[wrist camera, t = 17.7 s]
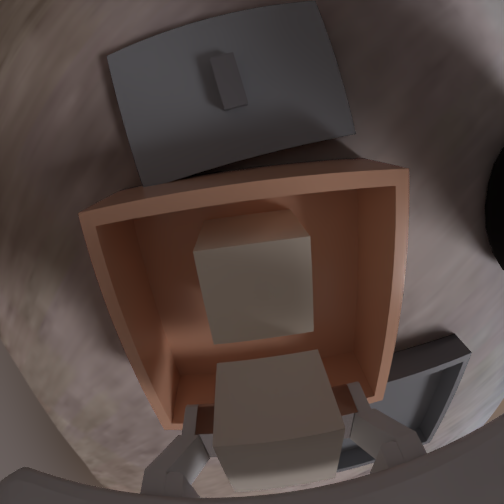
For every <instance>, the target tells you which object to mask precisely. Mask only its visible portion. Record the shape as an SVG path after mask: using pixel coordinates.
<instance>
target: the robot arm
mask: <svg viewBox="0 0 504 504" xmlns="http://www.w3.org/2000/svg"><path fill="white" fill-rule="evenodd" d="M331 388H332V391H333V394H334V396H335V399H336V402H337V405H338V408H339V411H340V414H341V417H342V420H343V423H344V426H345V433H344V438H343V439H347V438H350V439H351V440H352V441H353V442H355V443H356V444H357V445H358V446H360V447H361V448H362V449H363V450H364V451H366V452H367V453H368V454H370V455H371V456H372V457H373V458H375V459H376V460H375V462H374V465H373V467H372V469H371V471H370V474H369V475H365V476H362V477H358V478H355V479H351V480H347V481H343V482H339V483H334V484H330V485H325V486H321V487H315V488H310V489H305V490H299V491H292V492H285V493H278V494H269V495H259V496H247V497H228V498H200V496H199V495H198V494H197V492H196V491H195V490H194V488H193V487H192V486H191V484H192V483H193V481H194V480H195V479H196V477H197V476H198V474H199V473H200V472H201V470H202V469H203V467H204V466H205V465H206V463H207V462H208V460H209V459H210V458H209V457H217V455H216V453H215V451H214V449H213V426H214V405H215V404H192V405H187V406H186V408H185V414H184V421H183V428H182V435H178V436H177V437H176V438H175V439H174V440H173V441H172V442H171V443H170V444H169V445H168V446H167V448H166V449H165V450H164V451H163V452H162V453H161V454H160V455H159V456H158V457H157V458H156V459H155V460H154V461H153V462H152V463H151V464H150V465H149V466H148V467H147V468H146V469H145V471H144V477H143V482H142V487H141V493H140V494H138V493H130V492H123V491H117V490H111V489H106V488H100V487H96V486H91V485H86V484H82V483H78V482H74V481H71V480H66V479H63V478H60V477H56V476H53V475H50V474H47V473H43V472H40V471H37V470H35V469H32V468H29V467H23V468H20V469H18V470H17V471H15V472H13V473H12V474H10V475H8V476H7V477H5V478H4V479H3V480H2V481H1V482H0V504H504V414H502V415H500V416H499V417H497V418H496V419H494V420H492V421H491V422H489V423H487V424H485V425H484V426H482V427H480V428H478V429H477V430H475V431H473V432H471V433H469V434H467V435H466V436H464V437H462V438H460V439H458V440H456V441H454V442H452V443H450V444H447V445H445V446H443V447H441V448H439V449H437V450H434V451H432V452H430V453H426V451H425V449H424V447H423V445H422V443H421V441H420V439H419V437H418V435H417V433H416V432H415V431H414V430H412V429H410V428H408V427H406V426H405V425H403V424H401V423H399V422H398V421H396V420H394V419H392V418H391V417H389V416H387V415H385V414H384V413H382V412H380V411H378V410H377V409H375V408H373V409H371V407H370V405H369V403H368V401H367V398H366V396H365V394H364V392H363V390H362V387H361V385H360V383H359V382H358V381H357V382H353V383H348V384H343V385H339V386H334V387H331Z"/></svg>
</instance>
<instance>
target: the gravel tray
mask: <svg viewBox="0 0 504 504" xmlns="http://www.w3.org/2000/svg"><path fill="white" fill-rule="evenodd" d="M471 353H472V352H471V351H470V350H469V349H468V348H467V347H466V346H465V345H464V343H463V342H462V341H461V340H460V339H459V338H458V337H457V336H456V335H455V334H453V335H450V336H447V337H444V338H441V339H438V340H435V341H432V342H429V343H426V344H423V345H419V346H416V347H413V348H409V349H406V350H402V351H399V352H395V353H393V358H392V363H391V367H390V372H389V376H388V381H387V385H386V389H385V393H384V397H383V400H381V401H377V402H374V403H370V404H369V405H370V407H371V409H373V408H375V409H377V410H378V411H380V412H382V413H384V414H385V415H387V416H389V417H391V418H392V419H394V420H396V421H398V422H399V423H401V424H403V425H405V426H406V427H408V428H410V429H412V430H414V431H415V432H416V433H417V435H418V437H419V439H420V441H421V443H422V445H424V444H427V443H429V442H430V441H431V440H432V438H433V436H434V434H435V432H436V431H437V429H438V427H439V425H440V423H441V421H442V419H443V417H444V415H445V413H446V411H447V409H448V407H449V405H450V403H451V401H452V399H453V397H454V395H455V392H456V390H457V388H458V386H459V383H460V381H461V379H462V376H463V374H464V371H465V369H466V366H467V364H468V361H469V359H470V356H471ZM375 460H376V459H375V458H373V457H372V456H371V455H370V454H368V453H367V452H366V451H364V450H363V449H362V448H361V447H360V446H358V445H357V444H356V443H355V442H353V441H352V440H351V439H350V438H347V439H343V443H342V449H341V453H340V458H339V463H338V467H337V472H341V471H345V470H349V469H352V468H356V467H360V466H363V465H367V464H370V463H374V462H375Z"/></svg>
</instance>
